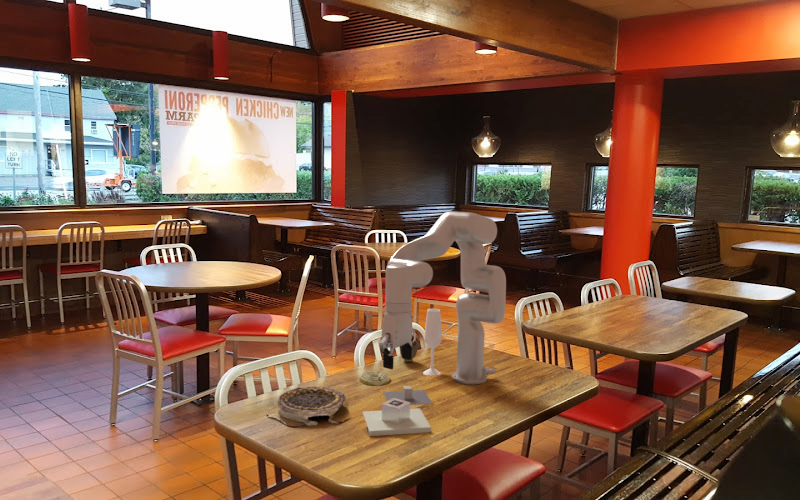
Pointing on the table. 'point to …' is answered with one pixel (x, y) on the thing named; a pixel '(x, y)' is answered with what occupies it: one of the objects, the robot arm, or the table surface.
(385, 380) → the decorated donut
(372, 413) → the hub plate
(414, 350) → the cup
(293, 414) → the pie
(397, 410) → the collar
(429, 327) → the champagne flute
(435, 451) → the table surface
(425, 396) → the rod stand
